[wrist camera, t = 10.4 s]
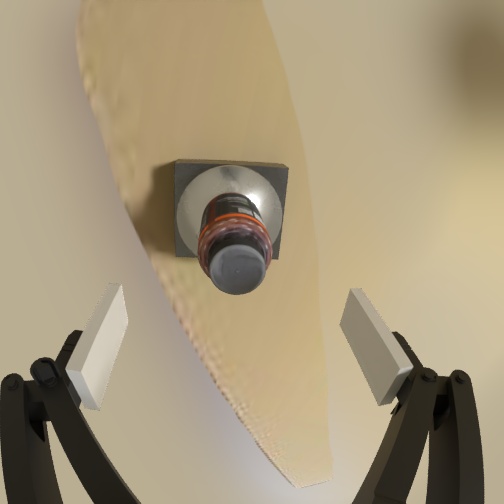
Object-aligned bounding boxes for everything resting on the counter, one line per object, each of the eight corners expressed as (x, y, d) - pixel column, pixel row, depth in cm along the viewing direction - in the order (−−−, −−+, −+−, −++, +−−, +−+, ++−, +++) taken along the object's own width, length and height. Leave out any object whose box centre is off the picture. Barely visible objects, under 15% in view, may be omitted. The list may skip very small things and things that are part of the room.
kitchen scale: (178, 158, 32) (171, 164, 28) (283, 163, 33) (292, 170, 29) (179, 250, 37) (173, 268, 33) (273, 253, 38) (280, 271, 34)
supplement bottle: (209, 250, 32) (205, 314, 22) (196, 197, 29) (182, 242, 19) (264, 238, 32) (284, 297, 22) (254, 185, 29) (272, 222, 19)
